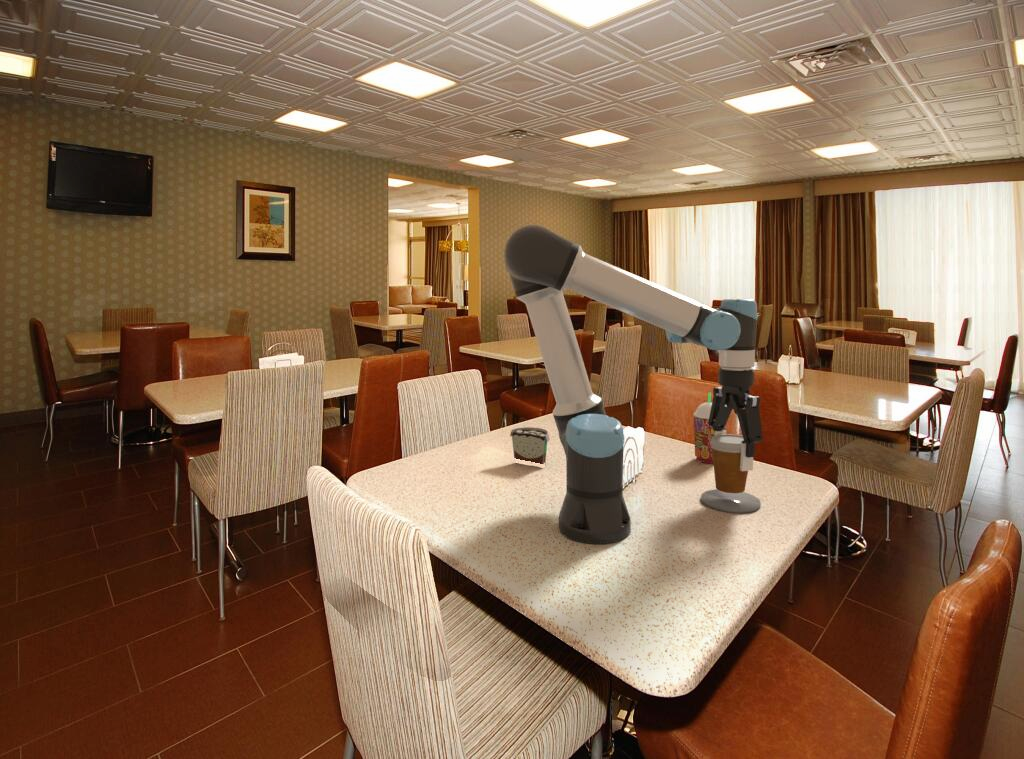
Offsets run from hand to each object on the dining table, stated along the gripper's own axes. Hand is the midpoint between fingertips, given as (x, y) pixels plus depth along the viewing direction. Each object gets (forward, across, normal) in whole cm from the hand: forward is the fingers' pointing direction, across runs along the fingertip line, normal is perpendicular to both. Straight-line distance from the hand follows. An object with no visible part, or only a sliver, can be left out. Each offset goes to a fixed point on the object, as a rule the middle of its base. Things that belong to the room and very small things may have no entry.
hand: (732, 463), depth 129 cm
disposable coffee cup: (+6, 0, 0) cm, 6 cm away
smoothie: (+10, +30, -13) cm, 34 cm away
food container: (+9, +42, +36) cm, 56 cm away
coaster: (+9, 0, 0) cm, 9 cm away
